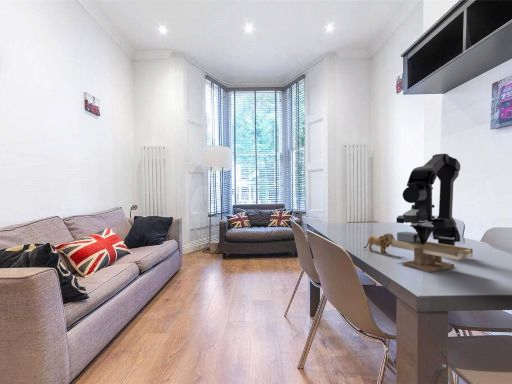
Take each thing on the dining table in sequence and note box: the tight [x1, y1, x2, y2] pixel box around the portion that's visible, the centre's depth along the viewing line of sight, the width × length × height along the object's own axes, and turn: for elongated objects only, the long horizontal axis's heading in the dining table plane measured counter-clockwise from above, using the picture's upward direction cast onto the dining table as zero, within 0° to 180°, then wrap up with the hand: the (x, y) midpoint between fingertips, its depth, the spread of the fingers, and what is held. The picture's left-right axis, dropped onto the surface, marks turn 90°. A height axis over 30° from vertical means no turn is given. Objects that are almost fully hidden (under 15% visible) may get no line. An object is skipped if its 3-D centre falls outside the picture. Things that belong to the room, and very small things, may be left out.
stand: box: [402, 248, 455, 273], centre depth 106 cm, size 14×10×7 cm
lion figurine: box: [363, 232, 396, 255], centre depth 130 cm, size 15×5×9 cm, turn 36°
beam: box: [390, 239, 474, 261], centre depth 106 cm, size 8×25×3 cm, turn 25°
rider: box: [396, 231, 422, 245], centre depth 112 cm, size 5×7×4 cm
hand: (423, 244), depth 107 cm, fingers closed
